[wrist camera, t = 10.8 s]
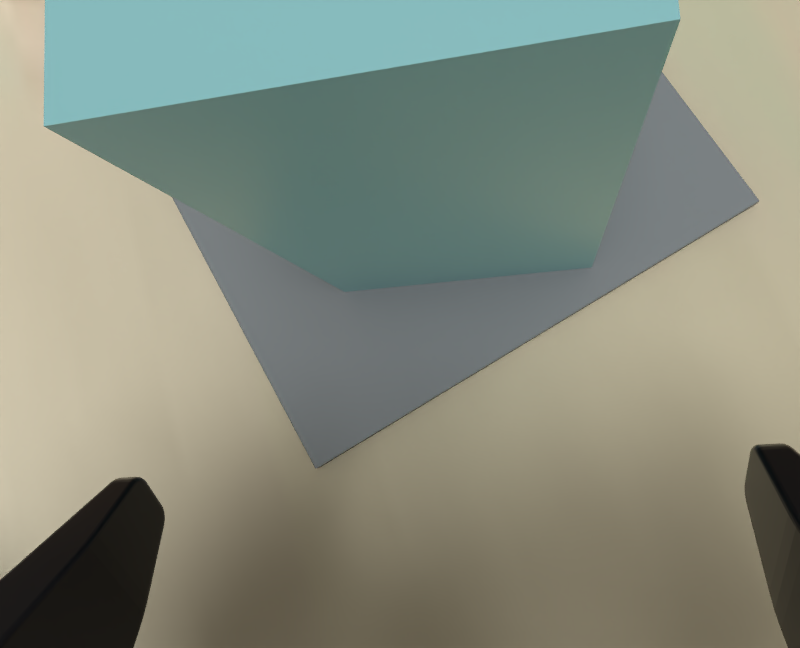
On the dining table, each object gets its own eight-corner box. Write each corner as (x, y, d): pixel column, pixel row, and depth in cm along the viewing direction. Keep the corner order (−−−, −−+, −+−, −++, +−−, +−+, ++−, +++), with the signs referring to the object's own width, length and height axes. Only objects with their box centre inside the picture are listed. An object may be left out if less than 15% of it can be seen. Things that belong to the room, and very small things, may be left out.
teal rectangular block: (591, 267, 18) (681, 18, 6) (344, 291, 19) (43, 126, 8) (567, 27, 19) (606, -579, 7) (333, 67, 20) (48, -385, 9)
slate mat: (319, 467, 19) (315, 468, 19) (134, 119, 22) (128, 115, 22) (755, 204, 18) (759, 200, 17) (497, -139, 20) (496, -147, 20)
